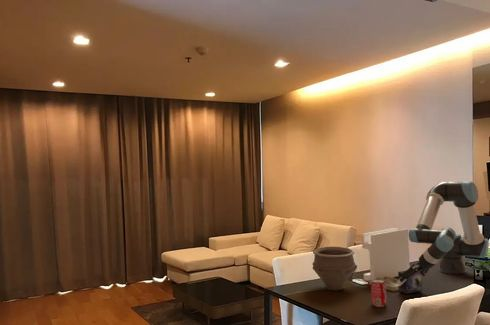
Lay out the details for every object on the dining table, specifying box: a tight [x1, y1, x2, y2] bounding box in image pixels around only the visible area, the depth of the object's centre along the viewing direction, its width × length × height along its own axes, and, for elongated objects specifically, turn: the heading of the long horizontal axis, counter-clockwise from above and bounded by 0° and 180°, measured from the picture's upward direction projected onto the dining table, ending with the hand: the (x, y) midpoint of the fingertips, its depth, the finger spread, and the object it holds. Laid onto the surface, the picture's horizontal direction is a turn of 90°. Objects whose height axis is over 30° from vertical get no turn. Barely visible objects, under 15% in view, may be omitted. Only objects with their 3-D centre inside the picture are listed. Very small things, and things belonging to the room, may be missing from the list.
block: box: [361, 227, 411, 282], centre depth 252 cm, size 35×8×28 cm, turn 124°
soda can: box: [370, 279, 388, 308], centre depth 199 cm, size 7×7×12 cm
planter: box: [311, 246, 358, 291], centre depth 230 cm, size 25×24×22 cm
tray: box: [368, 276, 400, 293], centre depth 231 cm, size 14×18×2 cm
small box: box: [397, 271, 423, 294], centre depth 218 cm, size 11×6×10 cm, turn 106°
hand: (405, 282), depth 220 cm, fingers closed on small box, 11 cm apart
